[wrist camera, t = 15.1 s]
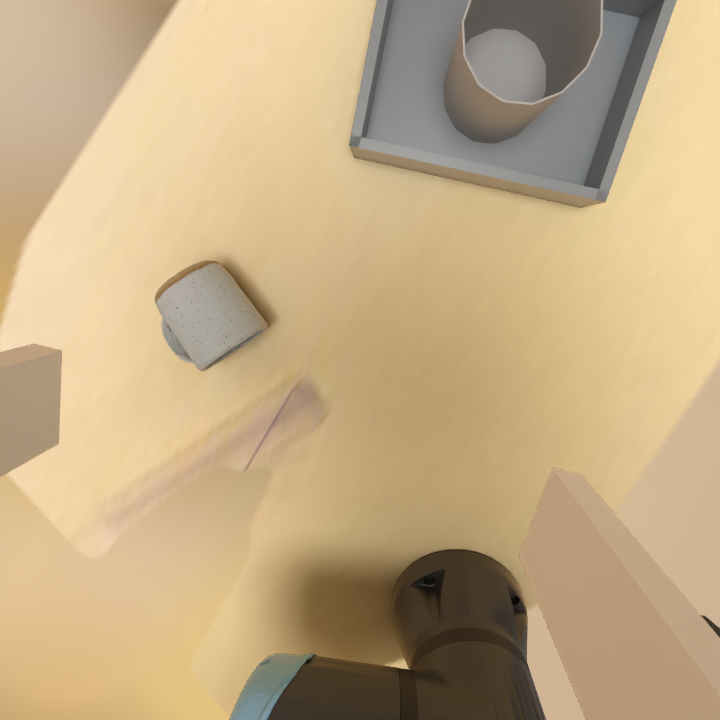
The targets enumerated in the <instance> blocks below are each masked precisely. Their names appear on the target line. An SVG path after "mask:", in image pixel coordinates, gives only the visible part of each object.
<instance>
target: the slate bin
mask: <svg viewBox="0 0 720 720" xmlns="http://www.w3.org/2000/svg"><path fill="white" fill-rule="evenodd" d="M676 1H677V0H603V31H602V36H601V38H600V41H599V43H598V45H597V48H596V50H595V52H594V55H593V57H592V59H591V62H590V64H589V66H588V68H587V69H586V70H585V71H584V72H583V73H582V74H581V75H580V76H579V77H578V78H577V79H576V80H575V81H574V82H573V83H572V84H571V85H570V86H569V87H568V88H567V89H566V90H565V91H564V92H563V93H562V94H561V95H560V96H559V97H558V98H557V99H556V100H555V101H554V102H553V103H552V104H551V105H549V106H548V107H547V108H546V109H545V110H544V111H543V112H542V113H541V114H540V115H539V116H538V117H537V118H536V119H534V120H533V121H532V122H531V123H530V124H529V125H528V126H527V127H526V128H525V129H524V130H523V131H522V132H521V133H520V134H518V135H517V136H515V137H512V138H510V139H507V140H505V141H502V142H499V143H497V144H491V143H481V142H473V141H472V140H470V139H469V138H467V137H466V136H465V135H463V134H462V133H460V132H459V131H457V130H456V129H455V127H454V125H453V123H452V122H451V120H450V118H449V116H448V114H447V112H446V110H445V104H444V87H443V84H444V80H445V77H446V74H447V70H448V67H449V64H450V60H451V57H452V53H453V50H454V47H455V43H456V40H457V36H458V33H459V30H460V26H461V23H462V20H463V17H464V14H465V11H466V8H467V6H468V3H469V0H377V3H376V8H375V13H374V18H373V24H372V29H371V34H370V39H369V44H368V50H367V55H366V60H365V65H364V71H363V76H362V81H361V86H360V92H359V97H358V102H357V107H356V113H355V118H354V123H353V128H352V134H351V139H350V144H349V146H350V149H351V151H352V153H353V156H354V158H359V159H363V160H368V161H372V162H377V163H382V164H386V165H391V166H395V167H400V168H404V169H409V170H413V171H418V172H422V173H427V174H431V175H436V176H440V177H445V178H449V179H454V180H458V181H463V182H468V183H472V184H477V185H481V186H486V187H490V188H495V189H499V190H504V191H508V192H513V193H517V194H522V195H526V196H531V197H535V198H540V199H544V200H549V201H554V202H558V203H563V204H567V205H572V206H576V207H581V208H582V207H586V206H590V205H595V204H599V203H604V202H606V199H607V196H608V194H609V191H610V188H611V185H612V182H613V179H614V177H615V174H616V171H617V168H618V165H619V162H620V160H621V157H622V154H623V151H624V148H625V145H626V143H627V140H628V137H629V134H630V131H631V128H632V125H633V123H634V120H635V117H636V114H637V111H638V108H639V106H640V103H641V100H642V97H643V94H644V91H645V89H646V86H647V83H648V80H649V77H650V74H651V72H652V69H653V66H654V63H655V60H656V57H657V55H658V52H659V49H660V46H661V43H662V40H663V37H664V35H665V32H666V29H667V26H668V23H669V20H670V18H671V15H672V12H673V9H674V6H675V3H676Z"/></svg>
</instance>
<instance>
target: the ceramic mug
mask: <svg viewBox="0 0 720 720" xmlns="http://www.w3.org/2000/svg"><path fill="white" fill-rule="evenodd" d="M155 303H156V305H157V308H158V310H159V312H160V314H161V315H162V317H163V320H162V331H163V335H164V337H165V339H166V342H167V343H168V345H169V347H170V348H171V350H172V351H173V352H174V353H175V354H176V355H177V356H178V357H179V358H180V359H182V360H183V361H186V362H189V363H194V364H195V365H196V366H197V368H198V369H199V370H200V371H205V370H207V369H208V368H210V367H212V366H214V365H215V364H217V363H219V362H220V361H222V360H223V359H225V358H227V357H228V356H230V355H231V354H233V353H234V352H236V351H238V350H239V349H240V348H242V347H243V346H245V345H246V344H248V343H249V342H251V341H252V340H253V339H255V338H256V337H257V336H259V335H260V334H261V333H263V332H264V331H265V330H266V329H267V328H268V324H267V323H266V321H265V320H264V319H263V317H262V316H261V315H260V313H259V312H258V311H257V309H256V308H255V307H254V305H253V304H252V303H251V301H250V300H249V299H248V297H247V296H246V295H245V293H244V292H243V291H242V290H241V288H240V287H239V286H238V284H237V283H236V281H235V280H234V278H233V277H232V276H231V274H230V273H229V272H228V271H227V270H226V269H225V268H224V267H223V266H222V265H221V264H219V263H218V262H215V261H204V262H200V263H197V264H194V265H192V266H190V267H188V268H186V269H184V270H182V271H181V272H179V273H177V274H176V275H175V276H173V277H172V278H170V279H169V280H168V281H167V282H166V283H164V284H163V285H162V286H161V288H160V289H159V290H158V291H157V293H156V297H155Z"/></svg>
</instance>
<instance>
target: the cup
mask: <svg viewBox="0 0 720 720" xmlns="http://www.w3.org/2000/svg"><path fill="white" fill-rule="evenodd" d="M602 31H603V0H469V3H468V6H467V8H466V11H465V14H464V17H463V20H462V23H461V26H460V30H459V33H458V36H457V40H456V43H455V47H454V50H453V53H452V57H451V60H450V64H449V67H448V70H447V74H446V77H445V80H444V84H443V87H444V104H445V110H446V112H447V114H448V116H449V118H450V120H451V122H452V123H453V125H454V127H455V129H456V130H457V131H459V132H460V133H462V134H463V135H465V136H466V137H467V138H469V139H470V140H472V141H473V142H481V143H491V144H497V143H499V142H502V141H505V140H507V139H510V138H512V137H515V136H517V135H518V134H520V133H521V132H522V131H523V130H524V129H525V128H526V127H527V126H528V125H529V124H530V123H531V122H532V121H533V120H534V119H536V118H537V117H538V116H539V115H540V114H541V113H542V112H543V111H544V110H545V109H546V108H547V107H548V106H549V105H551V104H552V103H553V102H554V101H555V100H556V99H557V98H558V97H559V96H560V95H561V94H562V93H563V92H564V91H565V90H566V89H567V88H568V87H569V86H570V85H571V84H572V83H573V82H574V81H575V80H576V79H577V78H578V77H579V76H580V75H581V74H582V73H583V72H584V71H585V70H586V69H587V68H588V66H589V64H590V62H591V59H592V57H593V55H594V52H595V50H596V48H597V45H598V43H599V41H600V38H601V36H602Z"/></svg>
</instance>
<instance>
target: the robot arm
mask: <svg viewBox="0 0 720 720" xmlns="http://www.w3.org/2000/svg"><path fill="white" fill-rule="evenodd" d="M61 363H62V350H58V349H54V348H50V347H45V346H41V345H37V344H31V345H27V346H23V347H19V348H15V349H11V350H7V351H4V352H0V477H1V476H3V475H5V474H6V473H8V472H10V471H12V470H13V469H15V468H17V467H19V466H20V465H22V464H24V463H26V462H28V461H29V460H31V459H33V458H35V457H36V456H38V455H40V454H42V453H43V452H45V451H47V450H49V449H50V448H52V447H54V446H56V445H57V444H59V422H60V392H61ZM519 558H520V561H521V563H522V565H523V568H524V570H525V573H526V575H527V578H528V580H529V582H530V585H531V587H532V590H533V592H534V595H535V597H536V599H537V602H538V604H539V607H540V609H541V611H542V614H543V617H544V618H545V621H546V624H547V626H548V629H549V631H550V634H551V636H552V638H553V641H554V643H555V646H556V648H557V650H558V653H559V655H560V658H561V660H562V663H563V665H564V668H565V670H566V672H567V675H568V677H569V680H570V682H571V684H572V687H573V690H574V692H575V694H576V697H577V699H578V702H579V704H580V707H581V709H582V711H583V714H584V716H585V719H586V720H720V628H719V627H717V626H716V625H715V624H714V623H713V622H711V621H710V620H709V619H708V618H707V617H705V616H702V615H700V614H699V613H698V612H697V610H696V609H695V608H694V607H693V606H692V604H691V603H690V602H689V601H688V600H687V599H686V597H685V596H684V595H683V594H682V593H681V591H680V590H679V589H678V588H677V587H676V586H675V584H674V583H673V582H672V581H671V580H670V578H669V577H668V576H667V575H666V574H665V573H664V571H663V570H662V569H661V568H660V567H659V565H658V564H657V563H656V562H655V561H654V560H653V558H652V557H651V556H650V555H649V554H648V552H647V551H646V550H645V549H644V548H643V547H642V545H641V544H640V543H639V542H638V541H637V539H636V538H635V537H634V536H633V535H632V534H631V532H630V531H629V530H628V529H627V528H626V526H625V525H624V524H623V523H622V522H621V520H620V519H619V518H618V517H617V516H616V515H615V513H614V512H613V511H612V510H611V509H610V507H609V506H608V505H607V504H606V503H605V502H604V500H603V499H602V498H601V497H600V496H599V494H598V493H597V492H596V491H595V490H594V489H593V487H592V486H591V485H590V484H589V483H588V481H587V480H586V479H585V478H584V477H583V476H582V475H581V474H577V473H573V472H569V471H565V470H560V469H556V468H552V470H551V472H550V475H549V478H548V480H547V483H546V485H545V488H544V491H543V493H542V496H541V498H540V501H539V504H538V506H537V509H536V511H535V514H534V517H533V519H532V522H531V524H530V527H529V530H528V532H527V535H526V537H525V540H524V543H523V545H522V548H521V551H520V553H519ZM392 620H393V626H394V630H395V633H396V636H397V639H398V641H399V644H400V647H401V649H402V652H403V655H404V657H405V660H406V663H407V665H408V668H409V670H408V669H400V668H396V667H389V666H381V665H374V664H366V663H359V662H351V661H344V660H338V659H332V658H325V657H319V656H318V655H316V654H313V653H310V654H308V655H294V654H282V653H278V654H273V655H270V656H268V657H267V658H265V659H264V660H263V661H262V662H261V663H260V664H259V665H258V666H257V667H256V669H255V670H254V671H253V673H252V674H251V675H250V677H249V679H248V681H247V682H246V684H245V686H244V688H243V690H242V692H241V694H240V696H239V698H238V700H237V703H236V705H235V707H234V709H233V712H232V714H231V717H230V719H229V720H546V718H545V715H544V713H543V709H542V707H541V703H540V700H539V697H538V694H537V691H536V689H535V685H534V682H533V679H532V676H531V673H530V670H529V667H528V664H527V610H526V606H525V602H524V600H523V597H522V594H521V591H520V589H519V586H518V584H517V582H516V581H515V579H514V577H513V576H512V575H511V574H510V573H509V571H508V570H507V569H505V568H504V567H503V566H502V565H501V564H499V563H498V562H496V561H495V560H493V559H491V558H489V557H487V556H484V555H481V554H478V553H475V552H470V551H461V550H451V551H442V552H437V553H434V554H431V555H428V556H425V557H423V558H421V559H419V560H418V561H416V562H415V563H413V564H412V565H411V566H409V567H408V568H407V569H406V570H405V571H404V572H403V574H402V575H401V576H400V578H399V579H398V581H397V583H396V585H395V588H394V591H393V596H392Z"/></svg>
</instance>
